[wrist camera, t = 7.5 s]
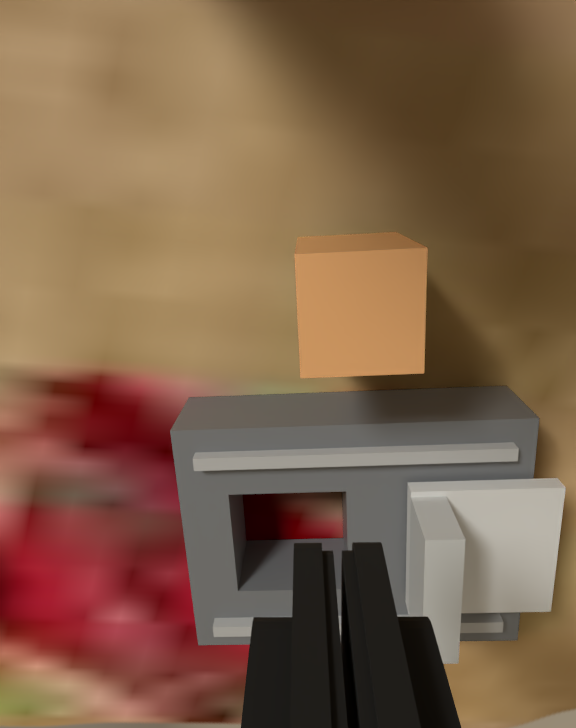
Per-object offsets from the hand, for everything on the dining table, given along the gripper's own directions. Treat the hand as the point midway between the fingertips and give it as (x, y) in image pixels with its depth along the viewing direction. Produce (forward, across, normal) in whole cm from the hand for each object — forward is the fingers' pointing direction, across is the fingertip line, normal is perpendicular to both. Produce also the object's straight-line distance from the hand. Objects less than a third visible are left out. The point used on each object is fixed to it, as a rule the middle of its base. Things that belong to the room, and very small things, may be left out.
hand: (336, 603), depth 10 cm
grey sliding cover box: (+17, -2, +9) cm, 19 cm away
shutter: (+12, -7, +9) cm, 17 cm away
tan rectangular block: (+17, -1, -3) cm, 18 cm away
